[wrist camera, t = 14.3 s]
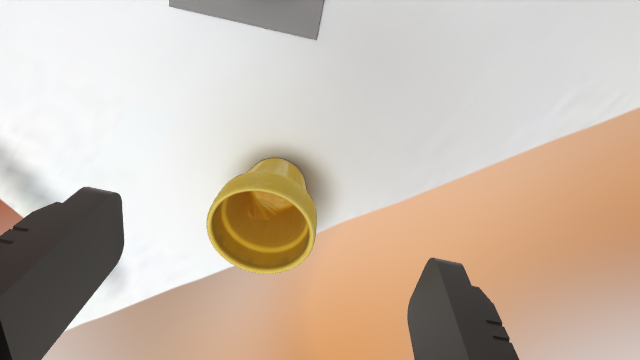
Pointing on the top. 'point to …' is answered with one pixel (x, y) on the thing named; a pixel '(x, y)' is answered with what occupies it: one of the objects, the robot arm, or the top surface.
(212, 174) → the top surface
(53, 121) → the top surface
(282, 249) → the plant pot
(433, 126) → the top surface
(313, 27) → the rubber mat
